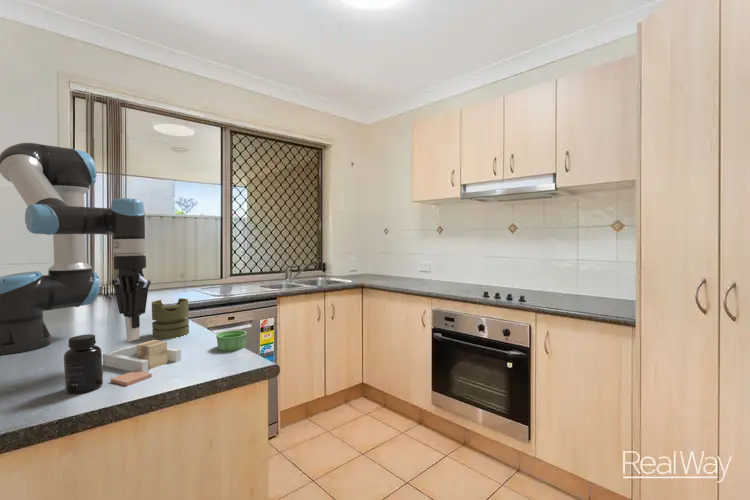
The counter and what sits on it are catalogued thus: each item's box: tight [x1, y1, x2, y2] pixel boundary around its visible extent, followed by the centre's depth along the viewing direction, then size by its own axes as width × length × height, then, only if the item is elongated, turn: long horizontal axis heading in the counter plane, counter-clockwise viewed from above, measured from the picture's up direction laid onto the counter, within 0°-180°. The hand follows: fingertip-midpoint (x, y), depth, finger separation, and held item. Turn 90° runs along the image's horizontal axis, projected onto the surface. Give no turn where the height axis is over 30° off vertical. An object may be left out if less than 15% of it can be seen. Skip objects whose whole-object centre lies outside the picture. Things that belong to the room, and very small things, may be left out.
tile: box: [110, 370, 153, 387], centre depth 90 cm, size 6×6×1 cm
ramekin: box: [215, 329, 248, 352], centre depth 116 cm, size 9×9×4 cm
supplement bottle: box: [63, 333, 104, 395], centre depth 85 cm, size 7×7×12 cm
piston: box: [151, 298, 190, 340], centre depth 131 cm, size 11×12×11 cm
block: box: [136, 339, 168, 370], centre depth 100 cm, size 5×5×6 cm
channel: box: [102, 344, 182, 373], centre depth 102 cm, size 16×11×3 cm
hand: (133, 339), depth 103 cm, fingers closed
